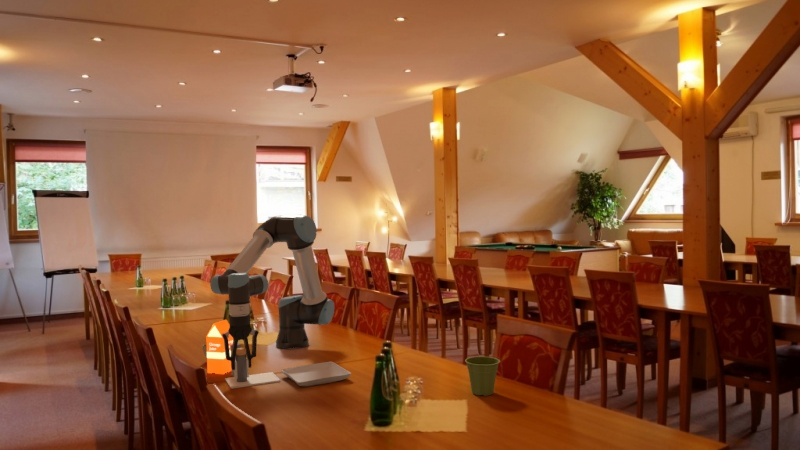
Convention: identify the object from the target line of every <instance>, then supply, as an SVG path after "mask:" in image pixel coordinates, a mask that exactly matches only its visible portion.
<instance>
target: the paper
mask: <svg viewBox="0 0 800 450" xmlns="http://www.w3.org/2000/svg"><path fill="white" fill-rule="evenodd" d="M224 380H225V382H226V383H227V385H228V387H229V388H230V389H231V390H232V389H237V388H238V389H239V388H244V387H252V386H258V385H259V386H260V385H265V384H266V385H268V384H274V383H280V382H281V379H280V378H279V377H278V376H277V375H276V374H275V373H274V372H273V371H270V372H263V373H253V374H249V377H247V381H246V382H237V379H235V377H232V376H231V377H227V378H226V377H225V378H224Z"/></svg>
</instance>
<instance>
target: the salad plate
mask: <svg viewBox="0 0 800 450" xmlns="http://www.w3.org/2000/svg"><path fill="white" fill-rule="evenodd" d="M280 371H281V372H282V374H283V375H284V376H286V377H287V378H289V379H291V380H292V382H294V383H295V384H297V385H298V386H300V387H310V386H312V387H313V386H318V385H324V384H330V383H335V382H339V381H343V380H346V379H348V378H349V377H350V376H351V375H352V372H351V371H349V370H347V369H345V368H344V367H342V366H340V365H338V364H337V363H335V362H334V361H330V360H329V361H325V362H318V363H312V364H305V365H300V366H294V367H288V368H284V369H281V370H280Z"/></svg>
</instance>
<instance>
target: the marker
mask: <svg viewBox="0 0 800 450" xmlns="http://www.w3.org/2000/svg"><path fill="white" fill-rule="evenodd" d="M246 359H247V355H246V348H245V347H241V348H237V350H236V361H237V375H238V379H237V382H246V381H247V365H246Z"/></svg>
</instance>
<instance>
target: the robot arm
mask: <svg viewBox="0 0 800 450" xmlns="http://www.w3.org/2000/svg"><path fill="white" fill-rule="evenodd" d="M317 230H318V229H317V226H316V223H315V220H313V218H312V217H310V216H309V215H302V214H296V215H276V216H273V217H271V218H268V219H267V220H266V221H264V222H263V223H261V224H260V225H259V226H258V227H257V228H256V229H255V231H254V232H253V233H252V238H251V239H250V240H249V241H248V243H247V244H246V245H245V247H244V248H243V249H242V250H241V251H240V253H239V254H238V255H237V256H236V257H235V259H234V260H233V261H232V262H231V263H230V265H229V266H228V267H227V268H226V270H225V271H224V272H223V273H222V274H216V275H213V276H212V277H211V280H210V289H211V291H212V293H213V294H215V295H216V294H217V295H223V296H224V295H226V296H227V295H228V315H230V316H229V317H228V319H229V320H228V323H229V325H230V328H229V330H228V332H226V333H223V334H222V337H223V339H224V346H225V356H226V359H227V360H230V361H231V368H232V370H234V377H235V379H238V375H237V361H236V360H235V357H236V350H237V344H239V341H240V340H242V341H243V345H244V348H246V365H247V377H249V375H250V372H249V371H250V369H251V368H252V359H253V358H255V357H257V341H258V339H257V338H258V336H259V333H260V332H259V331H258V330H257V329H253V327H252V326H251V314H250V313H251V308H250V305H251V304H250V303H251V301H250V297H253V296H258V295H262V294H264V293H265V292H267V291H268V289H269V280H268V278H267V277H266V276H265V275H263V274H254V275H249V274H248V273H249V272H250V271H251V270H252V268H253V267H254V266H255V264H256V263H257V262H258V260H259V259H260V258H261V257H262V255H263V254H264V253H265V251H266V250H267V249H269V248H272V247H273V245H274V244H276V243H286V245H287V249H288V250H290V251H291V252H292V255H293V259H294V262H295V266H296V270H297V274H298V278H299V282H300V286H301V290H302V294H303V295H302V294H298V295H289V296H285V297H281V298H280V299H279V300H278V324H279V328H278V329H279V330H278V332H277V333H278V334H277V337H276V340H275V346H276V348H278V349H284V350H286V349H289V350H290V349H301V348H305V347H307V346H309V344H310V342H309V340H310V339H309V337H308V334H307V332H306V328H305V325H319V326H321V325H323V326H324V325H329V324H330V323H331V321H332V319H333V317H334V314H335V302H334V300H332V299H329V298H328V295H327V292H325V291H323V288H322V285H321V280H320V276H319V272H318V268H317V264H316V261H315V260H316V259H315V256H314V251H313V248H312V247H313V244H314V243H315V240H316V238H317ZM229 334H230V335H231V336H232V337H233V346H232V353H231V357H230V353H229V343H228V338H229ZM250 334H251V337H252V338H251V339H252V340H251V350H250V344H249V339H248V337H249V336H250Z"/></svg>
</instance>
